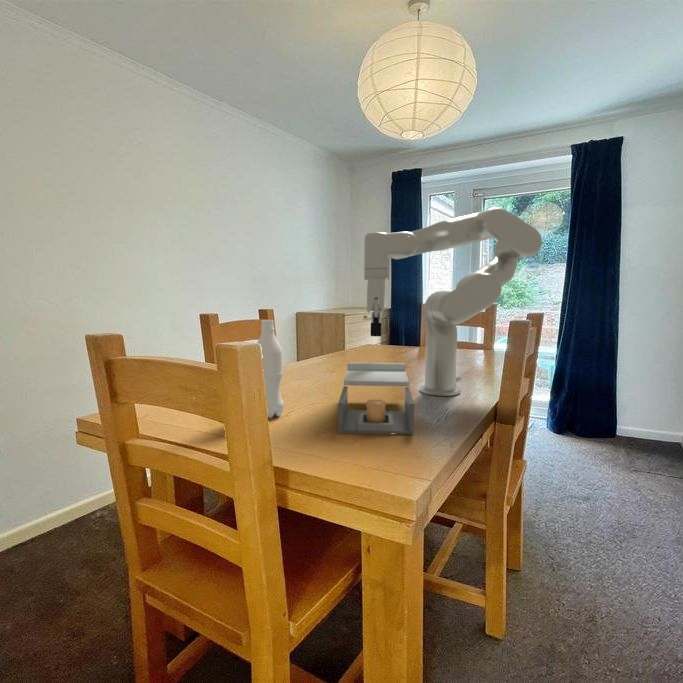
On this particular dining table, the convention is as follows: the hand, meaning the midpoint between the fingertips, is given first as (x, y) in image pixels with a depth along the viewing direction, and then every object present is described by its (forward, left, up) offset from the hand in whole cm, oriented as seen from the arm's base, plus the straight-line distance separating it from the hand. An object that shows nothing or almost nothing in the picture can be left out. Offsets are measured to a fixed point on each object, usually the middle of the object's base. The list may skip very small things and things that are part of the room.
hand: (375, 335), depth 125 cm
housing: (+20, +18, -18) cm, 33 cm away
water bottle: (+35, -6, -19) cm, 40 cm away
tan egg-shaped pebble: (+23, +20, -17) cm, 35 cm away
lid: (+9, +8, -11) cm, 16 cm away
